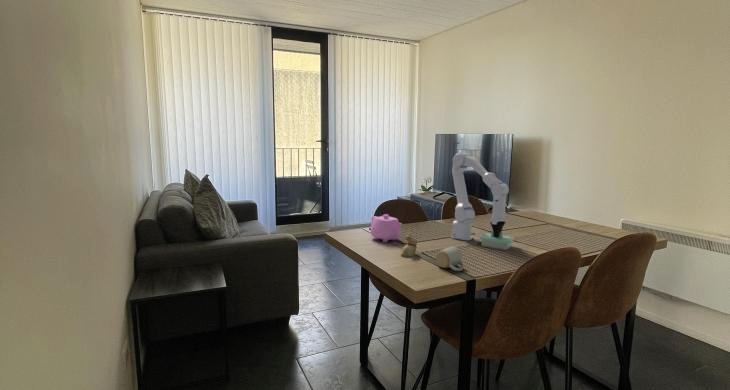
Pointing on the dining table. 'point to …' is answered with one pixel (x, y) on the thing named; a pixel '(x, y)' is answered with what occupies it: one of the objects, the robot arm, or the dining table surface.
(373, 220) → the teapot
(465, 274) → the dining table surface
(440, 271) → the dining table surface
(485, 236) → the lid
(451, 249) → the ceramic mug
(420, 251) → the dining table surface
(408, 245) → the chocolate bunny
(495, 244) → the box
